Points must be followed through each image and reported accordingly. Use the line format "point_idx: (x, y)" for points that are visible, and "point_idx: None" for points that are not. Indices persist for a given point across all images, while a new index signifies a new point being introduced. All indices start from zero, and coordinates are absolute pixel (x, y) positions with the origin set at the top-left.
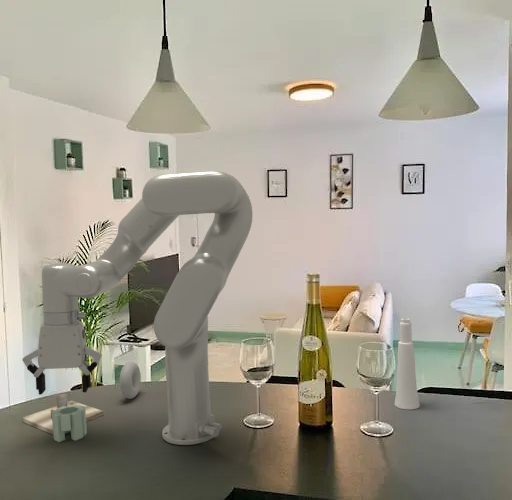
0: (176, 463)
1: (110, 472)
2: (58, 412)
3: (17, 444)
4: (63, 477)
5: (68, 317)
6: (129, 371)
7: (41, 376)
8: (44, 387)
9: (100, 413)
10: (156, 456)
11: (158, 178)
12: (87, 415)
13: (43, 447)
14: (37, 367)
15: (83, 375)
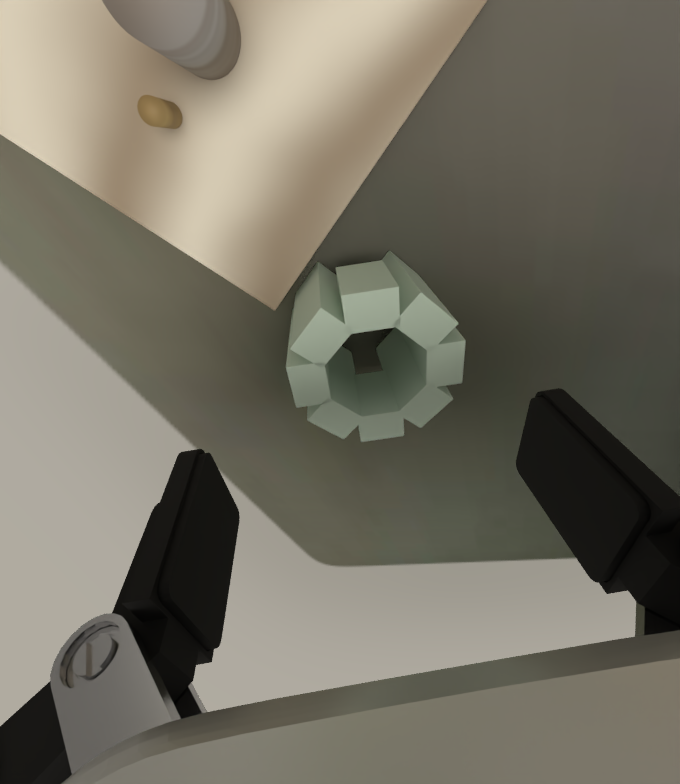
0: (675, 478)
1: (519, 508)
2: (329, 400)
3: (179, 381)
4: (417, 524)
5: None
6: None
7: (197, 645)
8: (211, 491)
9: (475, 14)
10: (641, 452)
11: None
12: (397, 85)
13: None
14: (66, 758)
15: (613, 588)
